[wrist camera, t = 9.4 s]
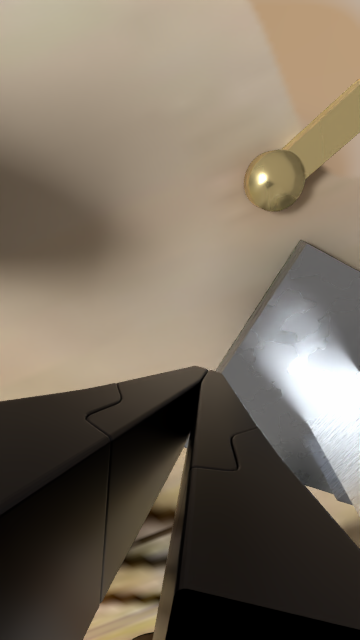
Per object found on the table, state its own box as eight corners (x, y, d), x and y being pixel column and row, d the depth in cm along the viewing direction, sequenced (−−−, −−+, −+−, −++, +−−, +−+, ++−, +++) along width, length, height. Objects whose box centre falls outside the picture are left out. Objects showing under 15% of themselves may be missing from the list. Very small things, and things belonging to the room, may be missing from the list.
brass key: (263, 219, 18) (270, 222, 17) (233, 178, 17) (238, 179, 16) (378, 121, 16) (393, 118, 15) (352, 68, 15) (366, 60, 14)
